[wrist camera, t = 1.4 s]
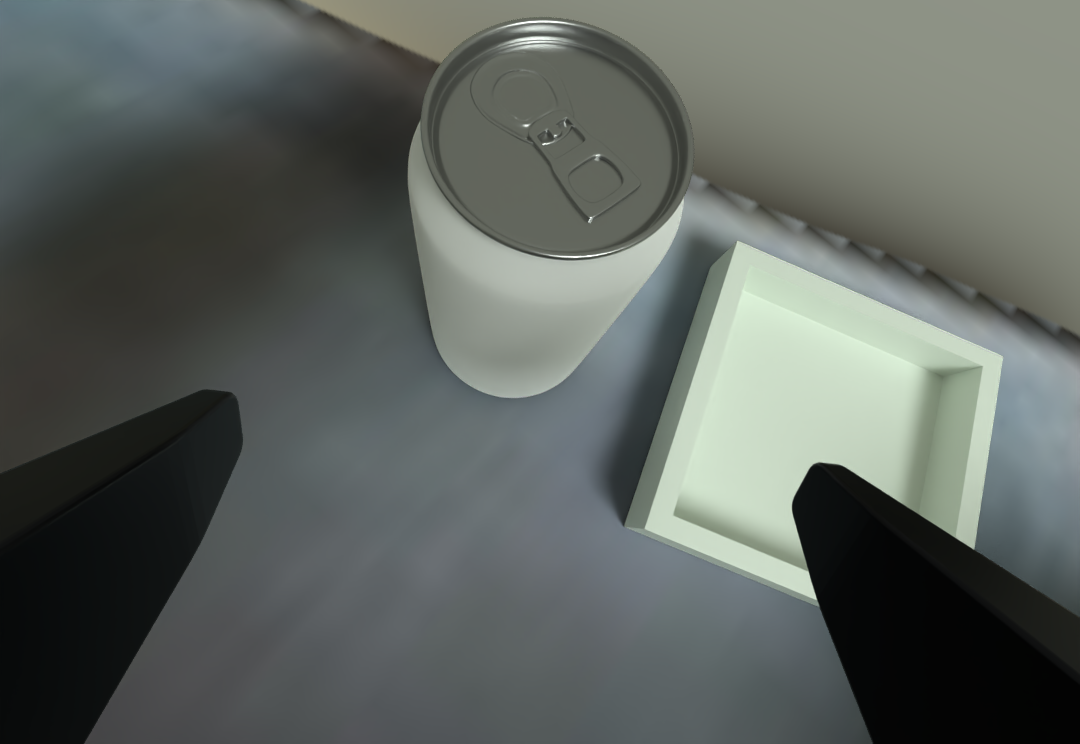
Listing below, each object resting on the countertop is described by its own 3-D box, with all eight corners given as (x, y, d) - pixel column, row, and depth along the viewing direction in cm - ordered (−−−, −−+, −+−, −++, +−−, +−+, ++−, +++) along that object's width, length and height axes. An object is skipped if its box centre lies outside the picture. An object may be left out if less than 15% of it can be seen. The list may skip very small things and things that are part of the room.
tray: (902, 641, 22) (957, 658, 19) (623, 526, 21) (644, 528, 19) (950, 371, 25) (1003, 356, 22) (710, 266, 24) (737, 240, 22)
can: (523, 224, 24) (581, -45, 12) (618, 339, 23) (776, 169, 11) (398, 307, 22) (328, 87, 10) (497, 433, 21) (538, 345, 10)
